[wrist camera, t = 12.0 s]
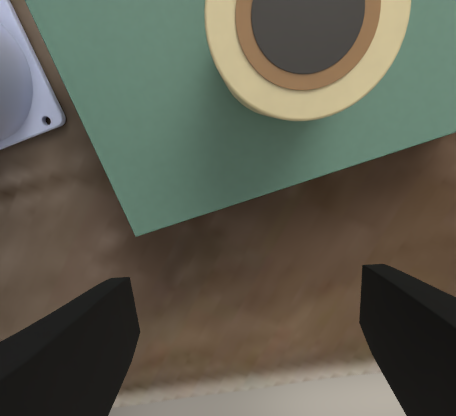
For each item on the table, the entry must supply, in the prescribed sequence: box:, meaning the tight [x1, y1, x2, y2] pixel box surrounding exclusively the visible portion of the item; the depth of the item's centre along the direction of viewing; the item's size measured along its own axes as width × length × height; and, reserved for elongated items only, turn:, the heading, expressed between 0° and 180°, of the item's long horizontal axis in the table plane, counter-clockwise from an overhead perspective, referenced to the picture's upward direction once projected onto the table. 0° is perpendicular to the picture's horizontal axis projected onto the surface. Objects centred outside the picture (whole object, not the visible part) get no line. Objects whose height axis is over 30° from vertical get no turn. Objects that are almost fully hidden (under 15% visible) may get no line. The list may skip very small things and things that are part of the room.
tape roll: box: [204, 0, 411, 121], centre depth 10 cm, size 5×5×5 cm
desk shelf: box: [25, 0, 456, 236], centre depth 15 cm, size 18×11×5 cm, turn 109°
